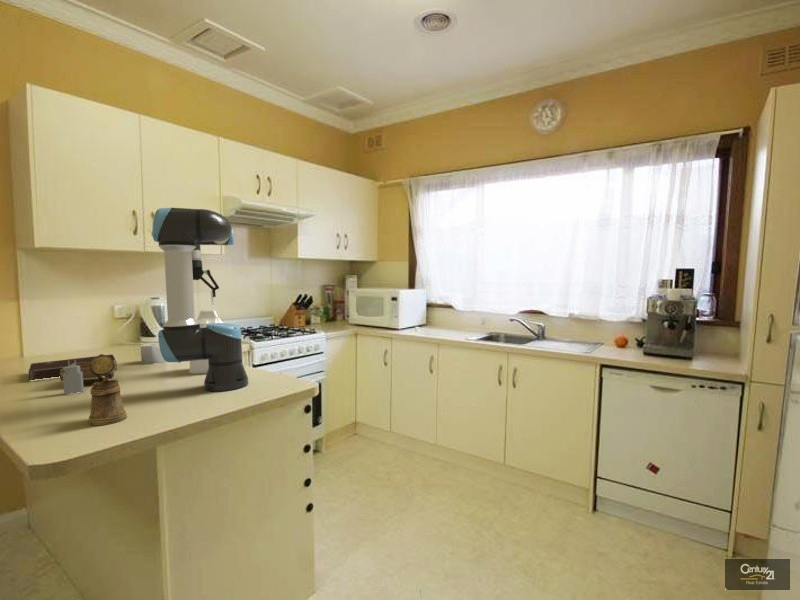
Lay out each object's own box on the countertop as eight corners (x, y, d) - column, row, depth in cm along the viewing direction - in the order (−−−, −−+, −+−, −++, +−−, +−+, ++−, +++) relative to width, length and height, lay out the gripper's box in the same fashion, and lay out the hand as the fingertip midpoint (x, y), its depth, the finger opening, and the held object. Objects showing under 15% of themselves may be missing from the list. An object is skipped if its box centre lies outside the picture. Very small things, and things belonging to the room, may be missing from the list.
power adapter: (64, 393, 148) (62, 360, 147) (83, 390, 151) (81, 358, 150) (64, 395, 145) (61, 361, 145) (83, 392, 149) (81, 359, 148)
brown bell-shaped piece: (122, 409, 129) (119, 351, 128) (128, 420, 119) (124, 358, 118) (87, 415, 123) (82, 356, 122) (90, 428, 113) (85, 363, 112)
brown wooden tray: (29, 383, 165) (28, 371, 165) (32, 374, 180) (31, 363, 179) (116, 371, 183) (116, 360, 183) (113, 364, 198) (112, 354, 197)
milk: (230, 367, 186) (227, 309, 184) (216, 373, 174) (213, 311, 173) (205, 367, 187) (202, 309, 185) (189, 373, 175) (186, 312, 174)
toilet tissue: (169, 362, 197) (168, 345, 197) (138, 364, 194) (137, 346, 194) (174, 359, 206) (174, 342, 206) (145, 360, 203) (144, 343, 203)
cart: (105, 384, 159) (104, 366, 159) (61, 388, 154) (59, 370, 154) (116, 376, 172) (115, 359, 172) (76, 379, 167) (74, 362, 167)
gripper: (222, 259, 200) (225, 303, 201) (163, 261, 191) (167, 307, 191) (221, 258, 193) (225, 303, 194) (160, 260, 184) (165, 308, 184)
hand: (196, 305), depth 193 cm, fingers open, 13 cm apart
